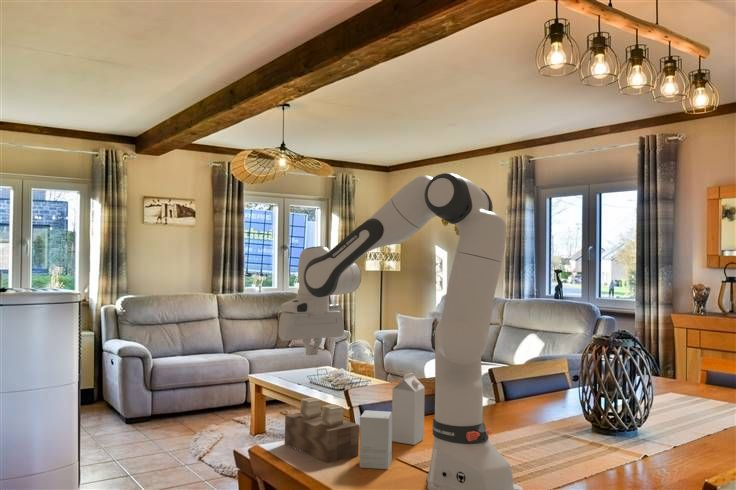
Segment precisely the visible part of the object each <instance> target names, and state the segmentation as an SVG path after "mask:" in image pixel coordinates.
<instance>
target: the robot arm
mask: <svg viewBox="0 0 736 490" xmlns="http://www.w3.org/2000/svg"><path fill="white" fill-rule="evenodd" d="M493 209H494V207H493V201H492V199H491V197H490V195H489V194H488V193H487V192H486V191H485V190H484V189H483V188H481V187H479V186H477V184H475V183H474V182H473V181H472V180H470V179H467V178H464V177H462V176H461V175H458V174H456V173H450V172H445V173H443V172H442V173H440V174H436V175H435V176H433V177H432V176H429V175H426V174H423V175H422V174H421V175H419V176H418V175H417V177H415V178H413V179H412V180H410V181H409V182H407V183H406V184H404V185H403V186H402V187H401V188H400V189H398V191H396V193H394V194H393V195H392V196H391V197H390V198H389V199H388V200H387V201H386V202H385V203H384V204H383V205H382V206H381V207H380V208H378V210H377V211H375V213H373V215H371V216H369V218H367V219H366V220H365V221H364V222H363V223H361V224H360V225H359V226H357V227H356V228H355V229H354V230H353V231H352V232H350V233H348V235H347V236H346V237H345V238H344V239H342V240H341V241H340V242H339V243H337V244H336V245H335V246H334V247H333V248H332V249H331V250H330V249H329V248H328V247H327V246H322V245H321V246H319V245H318V246H311V247H307V248H304V249H303V250H302V251H301V253H300V255H299V260H298V267H297V268H298V269H297V280H298V289H297V293H296V294H297V295H296V296H297V297H295V298H294V299H291V300H288V301H286V302H283V303H282V304H281V307H280V309H281V311H282V313H281V314H280V315H279V321H278V332H277V333H278V337H279V338H280V340H282V341H285V342H286V341H289V342H290V341H298V340H302V344H303V346H304V348H305V355H306V356H315V355H316V356H317V355H318V354H319V349H320V346H321V343H322V342H323V339H324V338H325V339H326V338H327V339H328V338H340V337H342V336H343V335H344V334H345V324H344V315H343V314H344V312H343V311H344V309H343V307H342V306H341V305H340V304H338V303H334V304H330V296H338V295H347V294H350V293H353V292H355V291H356V290H358V288H359V287H360V284H361V282H362V271H361V269H360V267H359V265H358V264H357V263H356V262H357V261H358V260H359V259H361V257H363V256H364V255H366V254H368V253H369V252H370V251H372V250H375V249H378V248H383V247H386V246H387V247H388V246H392V245H397V244H403V243H404V242H405V241H407V240H408V239H411V238H412V237H413V236H414V235H416V234H417V233H418V232H419V231H420V230H421V229H422V228H423V227H425V225H426V224H427V223H428V222H429V221H430V220H432V219H433V218H435V217H437V218H440V219H441V220H444V221H445V222H447V223H449V224H451V225H455V226H456V227H457V229H458V236H459V237H458V242H457V244H456V245H457V246H456V248H455V252H454V253H455V254H454V258H453V261H452V266H451V271H450V275H449V279H448V282H447V289H446V294H445V300H444V304H443V310H442V314H441V318H440V320H439V321H438V323H437V324H436V328H435V333H434V339H435V340H434V342H435V343H434V347H435V348H434V357H435V358H434V366H435V367H434V371H435V372H434V375H435V376H434V377H435V378H434V379H435V381H434V382H435V383H434V384H435V387H434V388H435V389H434V394H435V396H434V418H433V420H432V426H431V427H432V435H433V444H432V445H433V446H432V452H431V461H430V465H429V470H428V474H427V476H426V481H427V487H426V488H427V490H524V488H523V486H520V485H519V484H516V483H514V477H513V470H512V466H511V464H510V462H509V461H508V460H507V459H506V458H505V457H504V456H503V455H502V453H500V451H499V450H498V449H497V448H496V447H495V446H494V445H493V444H492V442H490V440H489V434H492V433H493V432H492V430H493V428H492V427H489V428H486V425H485V422H484V421H483V408H484V407H483V405H484V404H483V400H484V399H483V398H484V397H483V396H484V394H483V392H484V388H483V387H484V385H483V373H482V356H483V354H484V353H485V350H486V348H487V347H486V346H487V341H488V337H489V332H490V326H491V320H492V314H493V307H494V299H495V293H496V290H497V285H498V280H499V276H500V273H501V268H502V263H503V259H504V254H505V249H506V237H507V224H506V221H505V220H504V218H502V216H501V215H500V214H497V213H496V212H493ZM312 341H313V342H314V343H313V346H312V347H311V343H312Z"/></svg>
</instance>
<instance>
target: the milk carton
mask: <svg viewBox="0 0 736 490" xmlns="http://www.w3.org/2000/svg"><path fill="white" fill-rule="evenodd" d="M425 388H426V387H425V386H424V385H423V384H422V383H421V382H420V380H419V379H417V377H416V376H415V372H410V373H408V374H405V375H403V379H402V380H401V381H400V382H398V383H397V384H396V385H395V386H394V387H393V388H392V394H391V395H392V396H391V399H392V400H391V404H392V405H391V412H392V442H394V443H402V444H406V445H407V444H408V445H411V446H415V445H417V444H418V443H420V442H421V441H423V440H424V439H425V437H424V436H425V392H426V391H425Z"/></svg>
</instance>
